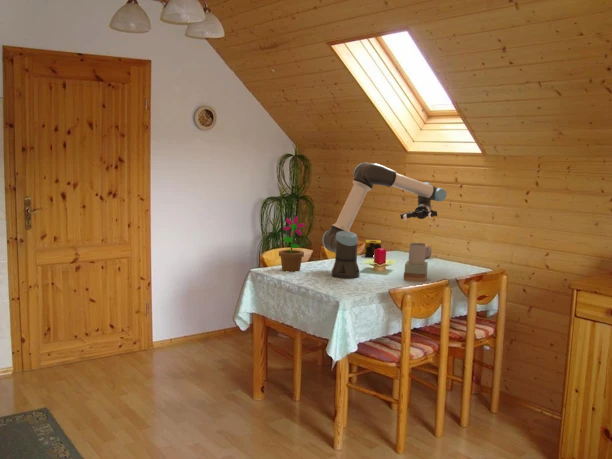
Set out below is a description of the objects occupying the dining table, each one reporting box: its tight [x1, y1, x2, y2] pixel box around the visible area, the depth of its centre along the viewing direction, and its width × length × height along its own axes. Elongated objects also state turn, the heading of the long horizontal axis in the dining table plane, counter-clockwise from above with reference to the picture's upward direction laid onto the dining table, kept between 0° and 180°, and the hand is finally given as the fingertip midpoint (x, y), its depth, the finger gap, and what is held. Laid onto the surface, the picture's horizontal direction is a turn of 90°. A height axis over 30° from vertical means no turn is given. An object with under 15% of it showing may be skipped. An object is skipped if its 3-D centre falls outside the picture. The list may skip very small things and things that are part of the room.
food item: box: [420, 242, 432, 259], centre depth 400 cm, size 14×8×10 cm, turn 134°
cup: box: [408, 242, 427, 265], centre depth 337 cm, size 8×8×10 cm
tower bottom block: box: [403, 271, 428, 283], centre depth 339 cm, size 11×11×4 cm
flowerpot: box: [278, 215, 305, 273], centre depth 352 cm, size 14×14×30 cm
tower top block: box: [404, 260, 429, 274], centre depth 338 cm, size 11×11×4 cm
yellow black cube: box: [364, 239, 382, 258], centre depth 402 cm, size 10×10×10 cm
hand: (416, 217), depth 344 cm, fingers open, 13 cm apart
